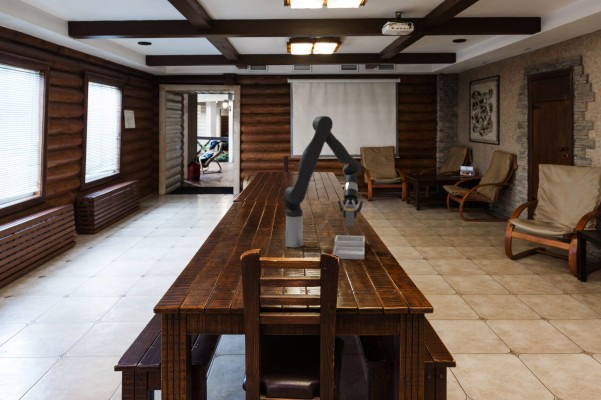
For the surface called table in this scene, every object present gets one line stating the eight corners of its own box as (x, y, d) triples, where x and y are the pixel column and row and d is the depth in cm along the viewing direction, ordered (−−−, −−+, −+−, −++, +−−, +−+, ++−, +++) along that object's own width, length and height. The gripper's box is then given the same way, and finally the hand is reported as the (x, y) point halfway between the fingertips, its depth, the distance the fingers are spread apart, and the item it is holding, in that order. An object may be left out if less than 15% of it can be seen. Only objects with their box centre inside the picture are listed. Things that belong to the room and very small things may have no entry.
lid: (332, 258, 250) (332, 253, 250) (334, 251, 264) (334, 246, 263) (364, 259, 248) (364, 254, 247) (364, 252, 262) (364, 247, 261)
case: (334, 251, 264) (334, 242, 263) (336, 244, 279) (336, 235, 278) (364, 252, 262) (364, 242, 261) (364, 244, 277) (364, 236, 276)
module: (345, 226, 264) (345, 205, 262) (345, 224, 269) (346, 204, 267) (353, 226, 263) (354, 206, 261) (354, 224, 268) (354, 204, 266)
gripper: (337, 187, 271) (336, 213, 261) (363, 188, 269) (363, 214, 259) (338, 195, 277) (336, 221, 267) (363, 196, 275) (363, 221, 265)
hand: (349, 217), depth 263 cm, fingers closed on module, 4 cm apart
